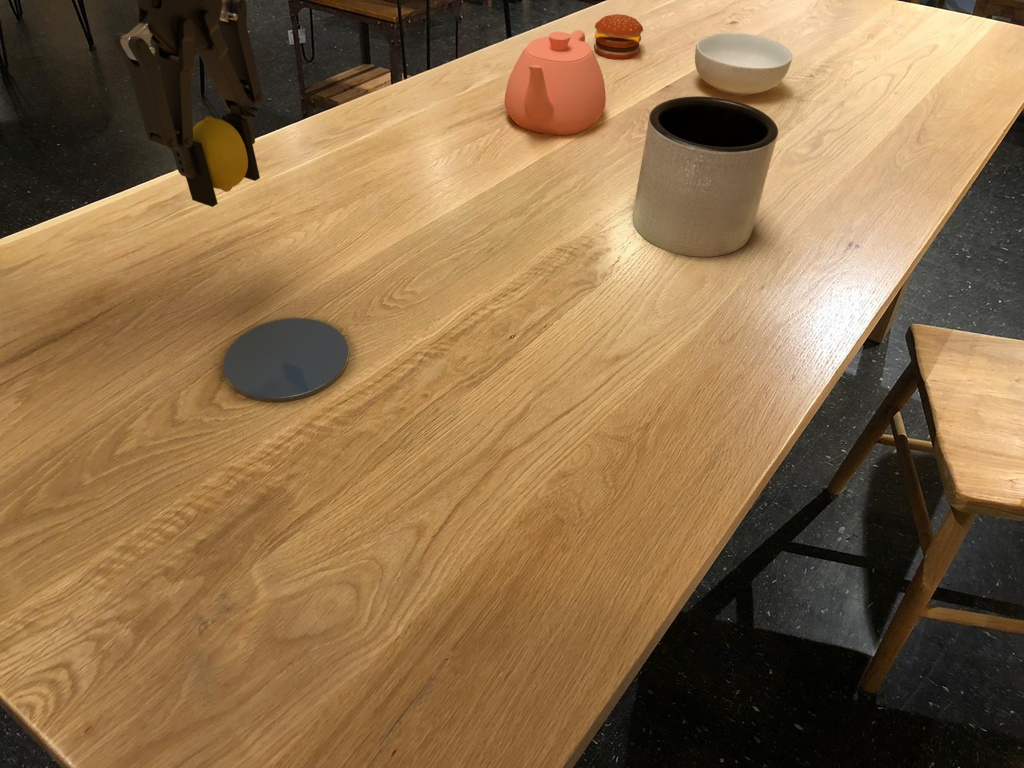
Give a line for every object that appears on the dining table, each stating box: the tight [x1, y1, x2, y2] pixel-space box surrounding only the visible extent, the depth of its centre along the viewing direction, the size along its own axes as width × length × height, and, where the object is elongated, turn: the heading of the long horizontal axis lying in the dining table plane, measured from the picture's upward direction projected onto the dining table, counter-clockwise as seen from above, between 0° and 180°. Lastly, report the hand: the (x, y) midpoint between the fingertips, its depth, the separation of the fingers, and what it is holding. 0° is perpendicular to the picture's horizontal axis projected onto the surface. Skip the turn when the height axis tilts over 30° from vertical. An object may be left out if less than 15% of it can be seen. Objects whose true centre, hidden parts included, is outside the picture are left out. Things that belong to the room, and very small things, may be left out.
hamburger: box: [593, 13, 644, 60], centre depth 151 cm, size 9×10×7 cm
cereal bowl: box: [694, 32, 793, 97], centre depth 139 cm, size 17×17×7 cm
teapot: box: [504, 30, 607, 136], centre depth 125 cm, size 25×17×13 cm
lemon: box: [193, 115, 248, 193], centre depth 77 cm, size 6×6×8 cm
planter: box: [632, 95, 779, 258], centre depth 99 cm, size 16×16×16 cm
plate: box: [222, 317, 350, 403], centre depth 82 cm, size 13×13×2 cm
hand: (226, 188), depth 80 cm, fingers closed on lemon, 5 cm apart
